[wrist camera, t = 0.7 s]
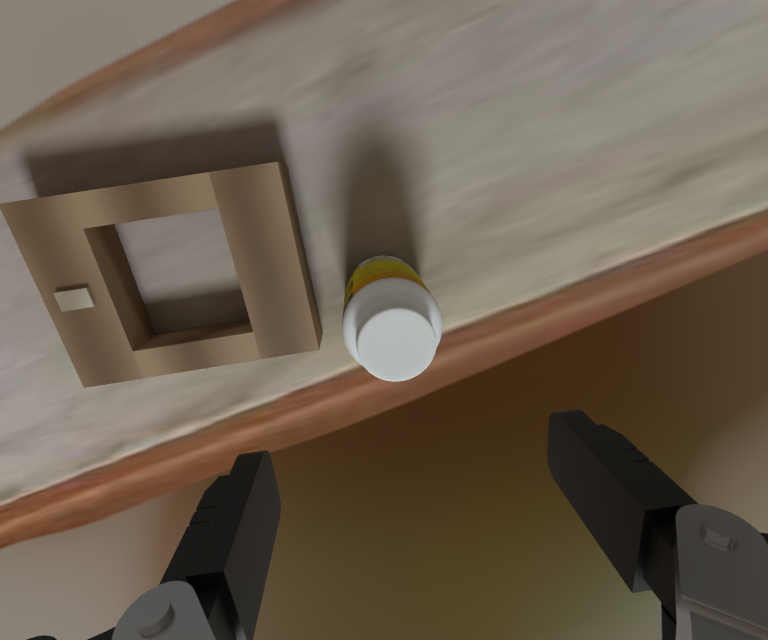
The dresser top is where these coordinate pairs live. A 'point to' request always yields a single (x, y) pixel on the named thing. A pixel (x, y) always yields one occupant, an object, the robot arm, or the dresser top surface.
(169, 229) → the dresser top surface
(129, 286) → the holder block
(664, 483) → the robot arm
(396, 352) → the supplement bottle
